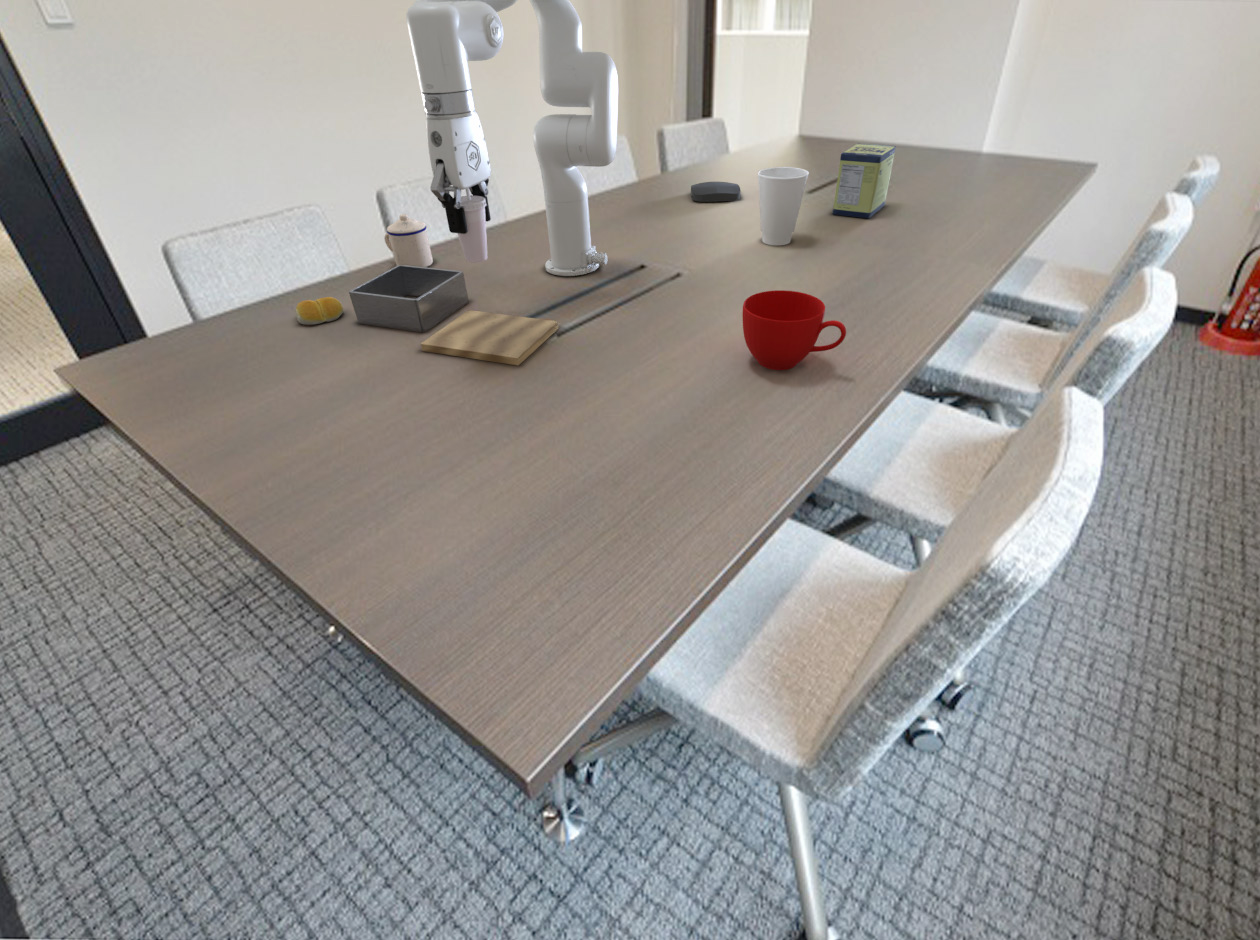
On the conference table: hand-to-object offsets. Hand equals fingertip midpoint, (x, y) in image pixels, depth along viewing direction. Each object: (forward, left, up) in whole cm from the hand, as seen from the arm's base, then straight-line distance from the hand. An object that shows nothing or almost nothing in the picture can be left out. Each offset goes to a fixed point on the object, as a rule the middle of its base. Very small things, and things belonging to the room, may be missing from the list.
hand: (470, 225), depth 107 cm
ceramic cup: (-54, -6, -21) cm, 58 cm away
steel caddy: (+22, -7, -21) cm, 31 cm away
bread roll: (+40, +1, -21) cm, 45 cm away
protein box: (-57, -104, -21) cm, 121 cm away
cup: (-40, -71, -21) cm, 84 cm away
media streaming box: (-14, -110, -21) cm, 113 cm away
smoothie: (0, 0, -6) cm, 6 cm away
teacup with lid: (+42, -32, -21) cm, 57 cm away
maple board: (0, 0, -21) cm, 21 cm away
